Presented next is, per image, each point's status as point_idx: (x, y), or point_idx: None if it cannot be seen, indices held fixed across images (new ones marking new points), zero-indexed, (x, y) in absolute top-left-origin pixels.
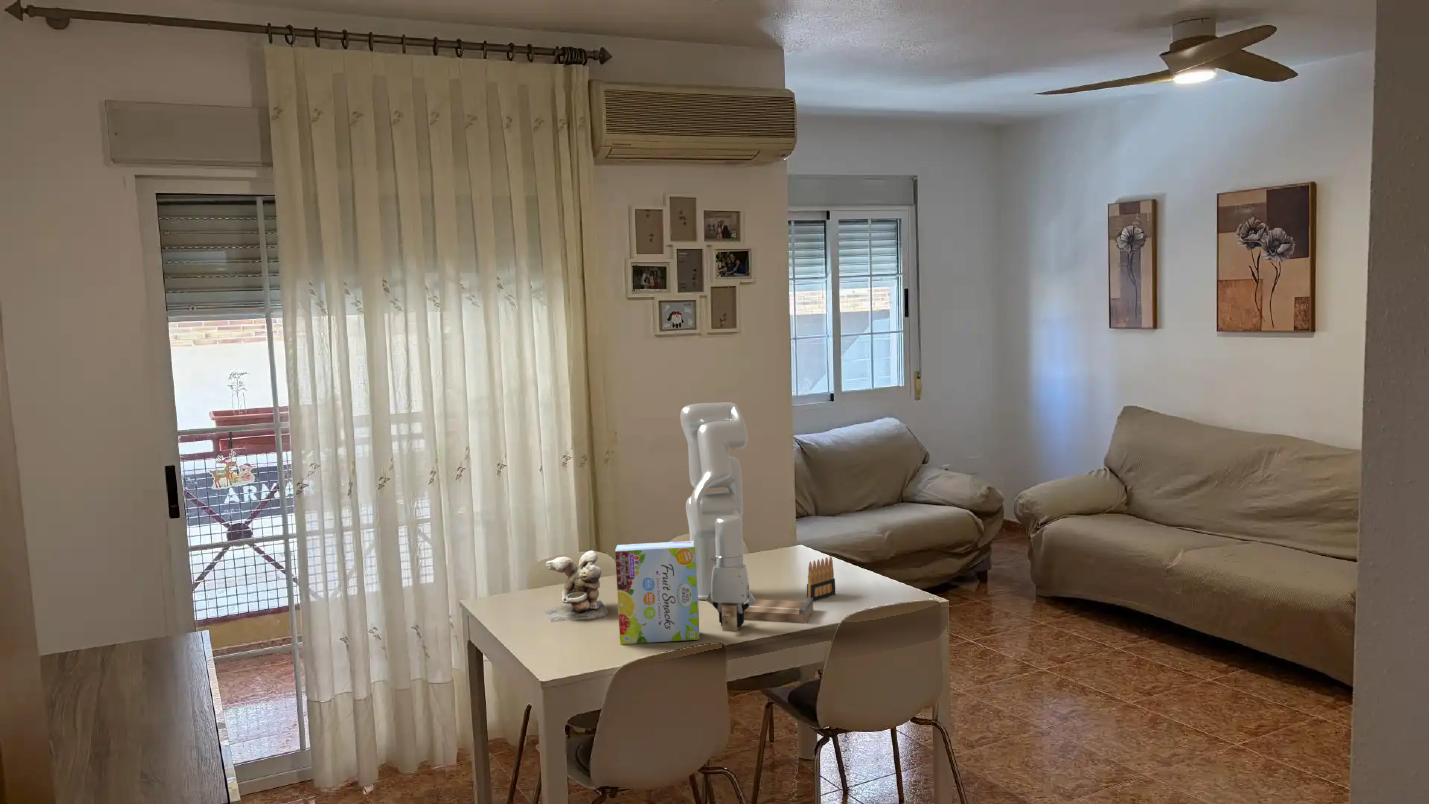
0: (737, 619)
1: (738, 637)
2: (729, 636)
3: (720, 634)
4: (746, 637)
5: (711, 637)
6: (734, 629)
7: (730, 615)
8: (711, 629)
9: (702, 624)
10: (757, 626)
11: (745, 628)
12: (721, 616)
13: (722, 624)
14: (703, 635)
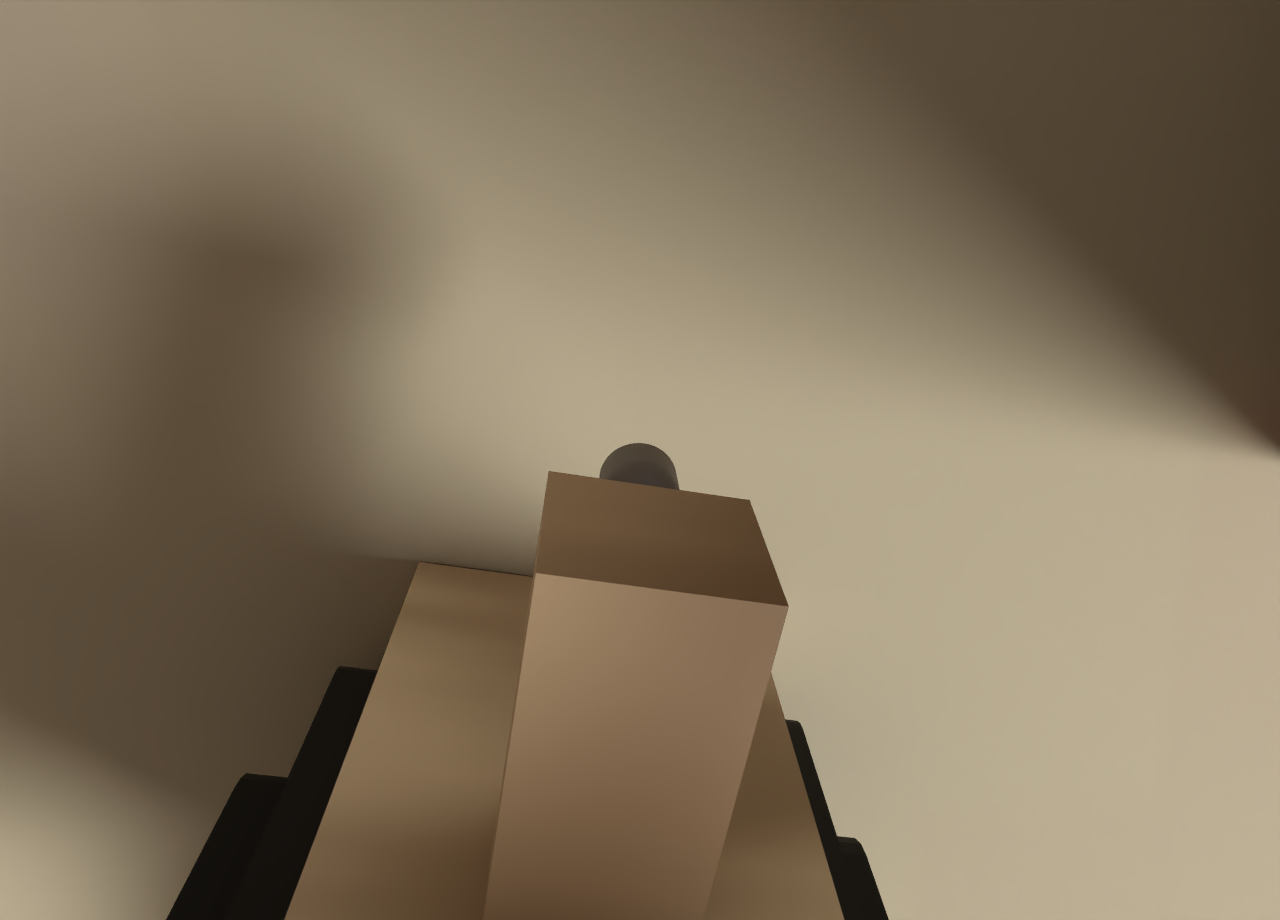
0: None
1: (265, 86)
2: (532, 173)
3: (782, 333)
4: (34, 89)
5: (1018, 77)
6: (460, 590)
7: (500, 802)
8: (992, 659)
9: (1151, 907)
10: (32, 857)
11: (256, 741)
12: None
13: (769, 690)
14: (1213, 246)
